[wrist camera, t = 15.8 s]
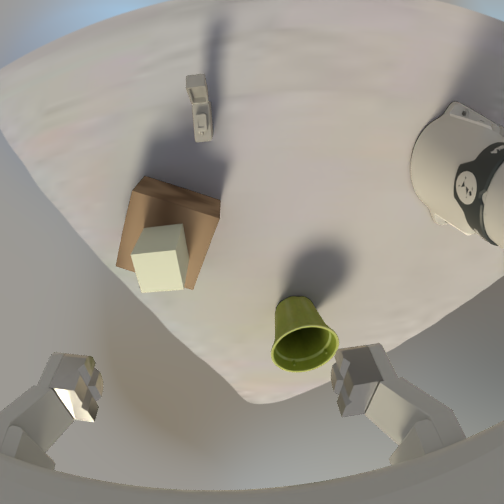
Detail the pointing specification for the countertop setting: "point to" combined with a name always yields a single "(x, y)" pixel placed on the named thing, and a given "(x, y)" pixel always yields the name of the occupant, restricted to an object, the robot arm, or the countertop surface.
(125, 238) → the walnut block
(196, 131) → the lighter
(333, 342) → the plant pot
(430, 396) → the robot arm
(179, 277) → the sage block
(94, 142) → the countertop surface
